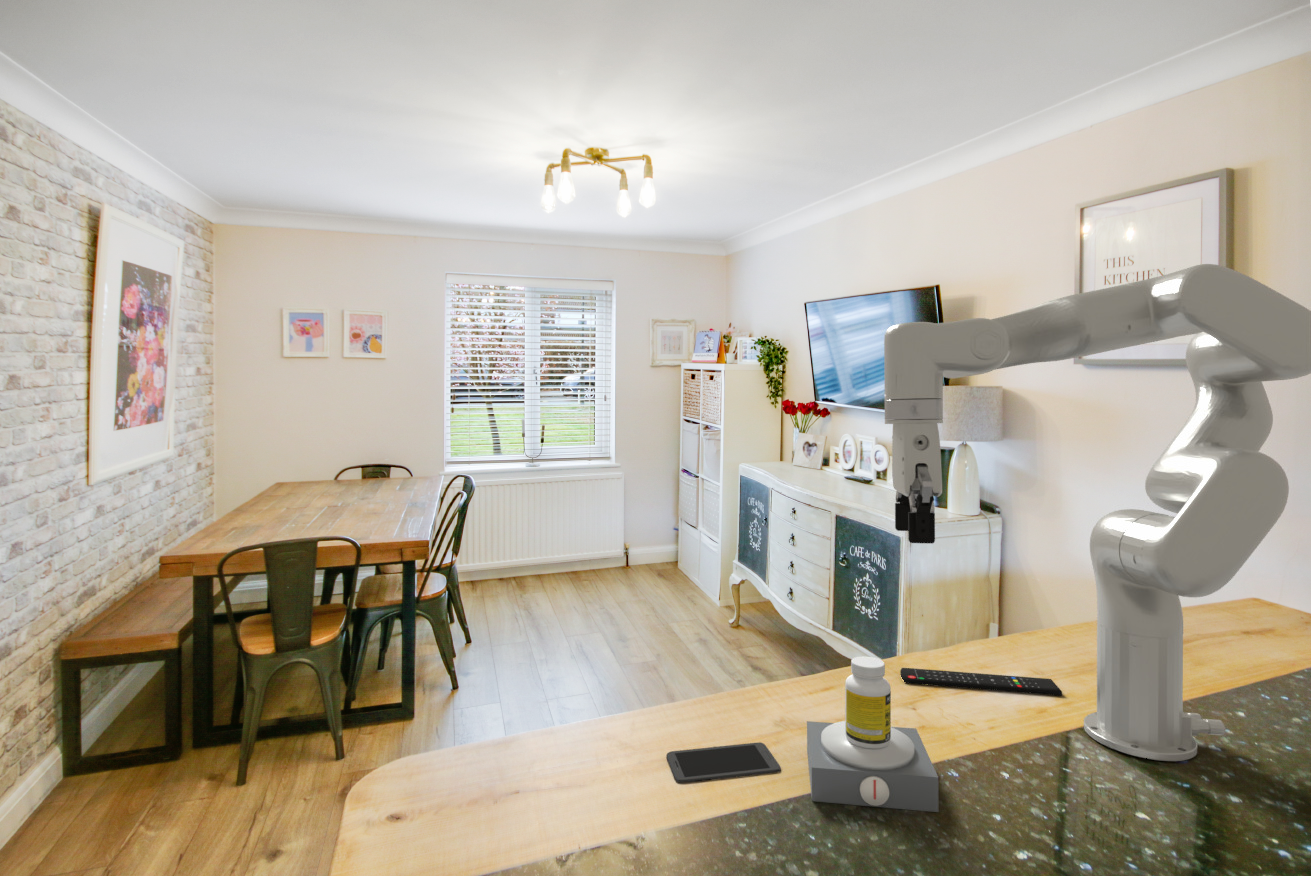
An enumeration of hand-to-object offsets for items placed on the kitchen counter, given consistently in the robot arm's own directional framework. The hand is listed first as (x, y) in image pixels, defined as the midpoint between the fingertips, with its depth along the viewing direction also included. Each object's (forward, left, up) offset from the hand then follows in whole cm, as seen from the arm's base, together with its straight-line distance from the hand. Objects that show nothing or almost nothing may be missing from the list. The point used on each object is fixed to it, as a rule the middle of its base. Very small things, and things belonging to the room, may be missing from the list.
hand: (913, 536), depth 91 cm
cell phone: (+26, +11, -29) cm, 40 cm away
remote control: (-14, -21, -29) cm, 39 cm away
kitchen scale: (+8, +12, -28) cm, 32 cm away
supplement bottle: (+8, +12, -24) cm, 28 cm away
